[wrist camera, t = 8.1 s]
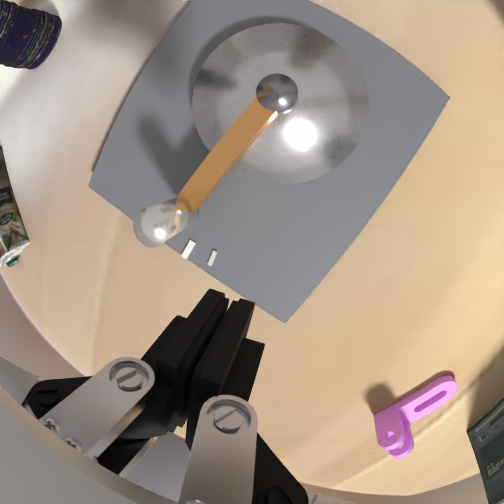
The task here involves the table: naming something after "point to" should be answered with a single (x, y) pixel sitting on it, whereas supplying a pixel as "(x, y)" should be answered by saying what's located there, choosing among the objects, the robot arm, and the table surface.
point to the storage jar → (26, 35)
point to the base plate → (253, 192)
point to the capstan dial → (266, 117)
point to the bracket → (410, 415)
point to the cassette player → (490, 451)
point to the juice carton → (9, 221)
